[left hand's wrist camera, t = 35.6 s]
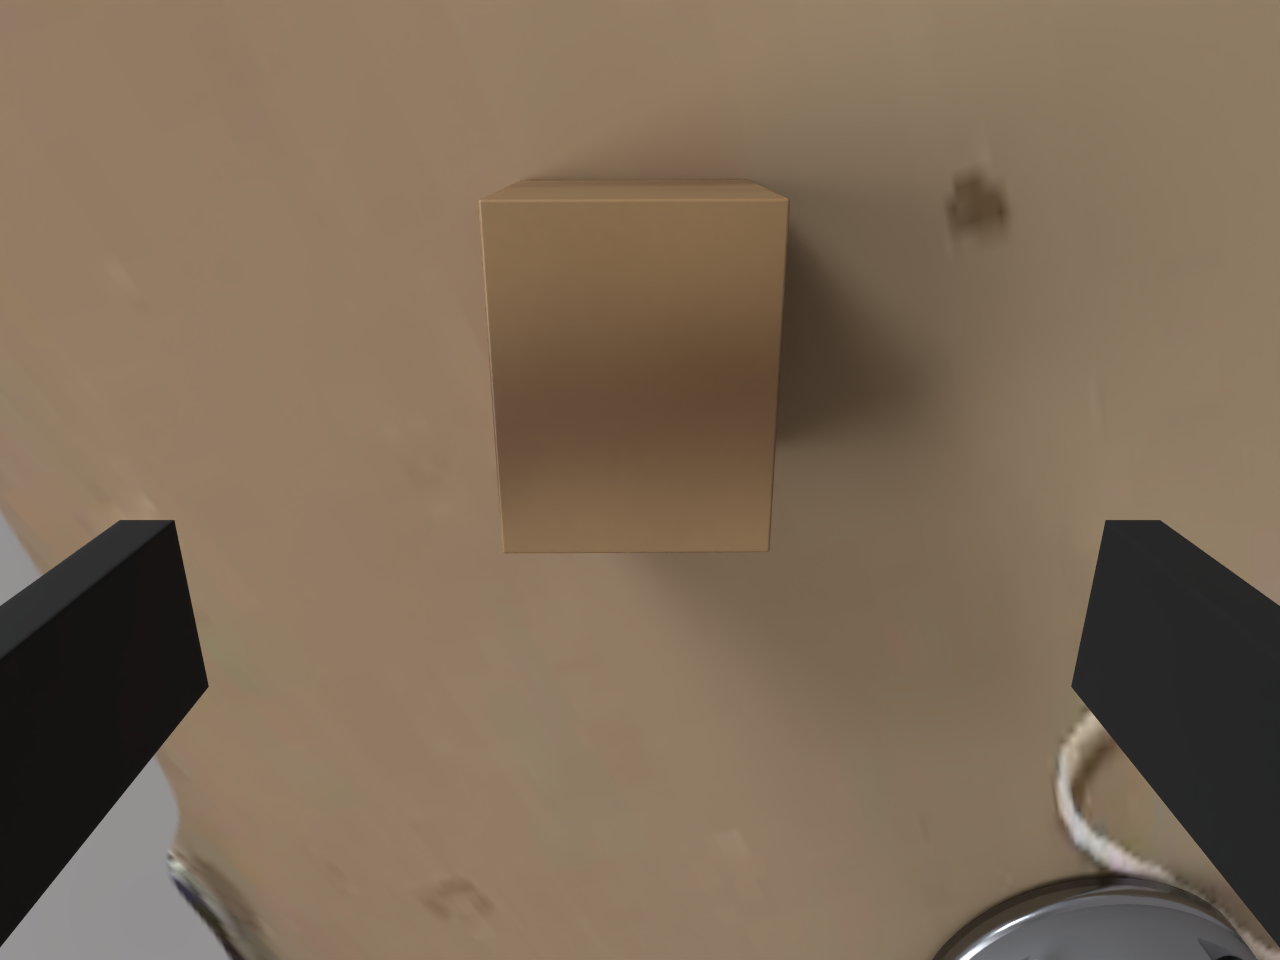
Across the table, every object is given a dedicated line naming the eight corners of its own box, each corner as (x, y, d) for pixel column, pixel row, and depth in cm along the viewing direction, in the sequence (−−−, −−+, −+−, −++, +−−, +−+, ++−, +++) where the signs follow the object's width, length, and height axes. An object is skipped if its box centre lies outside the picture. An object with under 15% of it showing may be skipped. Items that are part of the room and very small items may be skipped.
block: (519, 180, 27) (477, 199, 20) (749, 179, 27) (790, 198, 20) (533, 454, 30) (502, 554, 23) (738, 453, 30) (769, 553, 23)
